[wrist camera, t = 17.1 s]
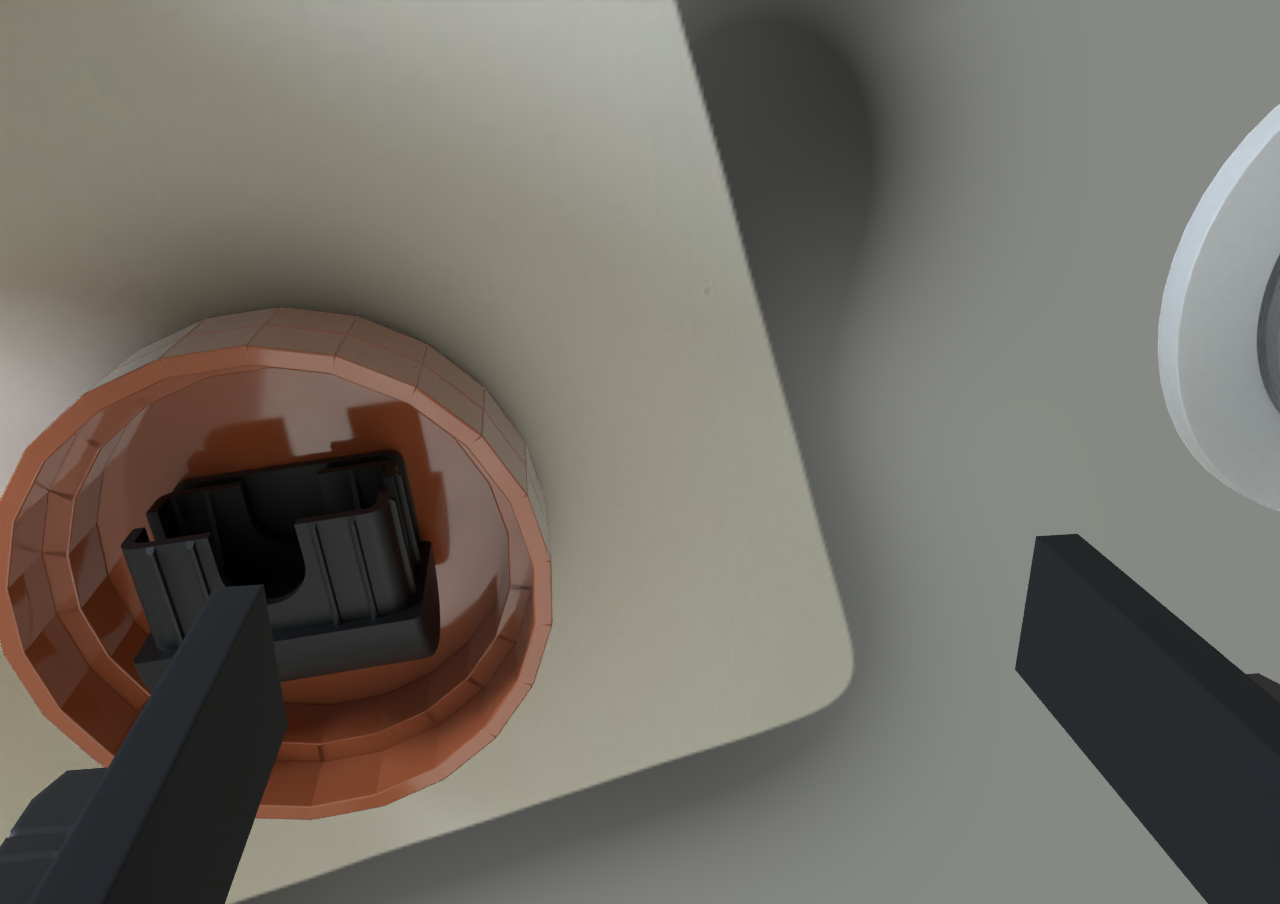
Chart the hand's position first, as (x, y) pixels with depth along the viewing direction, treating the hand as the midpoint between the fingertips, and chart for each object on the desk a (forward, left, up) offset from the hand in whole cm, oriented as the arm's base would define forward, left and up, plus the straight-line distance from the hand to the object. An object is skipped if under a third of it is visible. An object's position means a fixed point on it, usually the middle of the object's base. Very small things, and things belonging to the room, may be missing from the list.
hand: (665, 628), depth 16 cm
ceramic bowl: (+11, +9, -24) cm, 28 cm away
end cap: (+11, +10, -23) cm, 28 cm away
